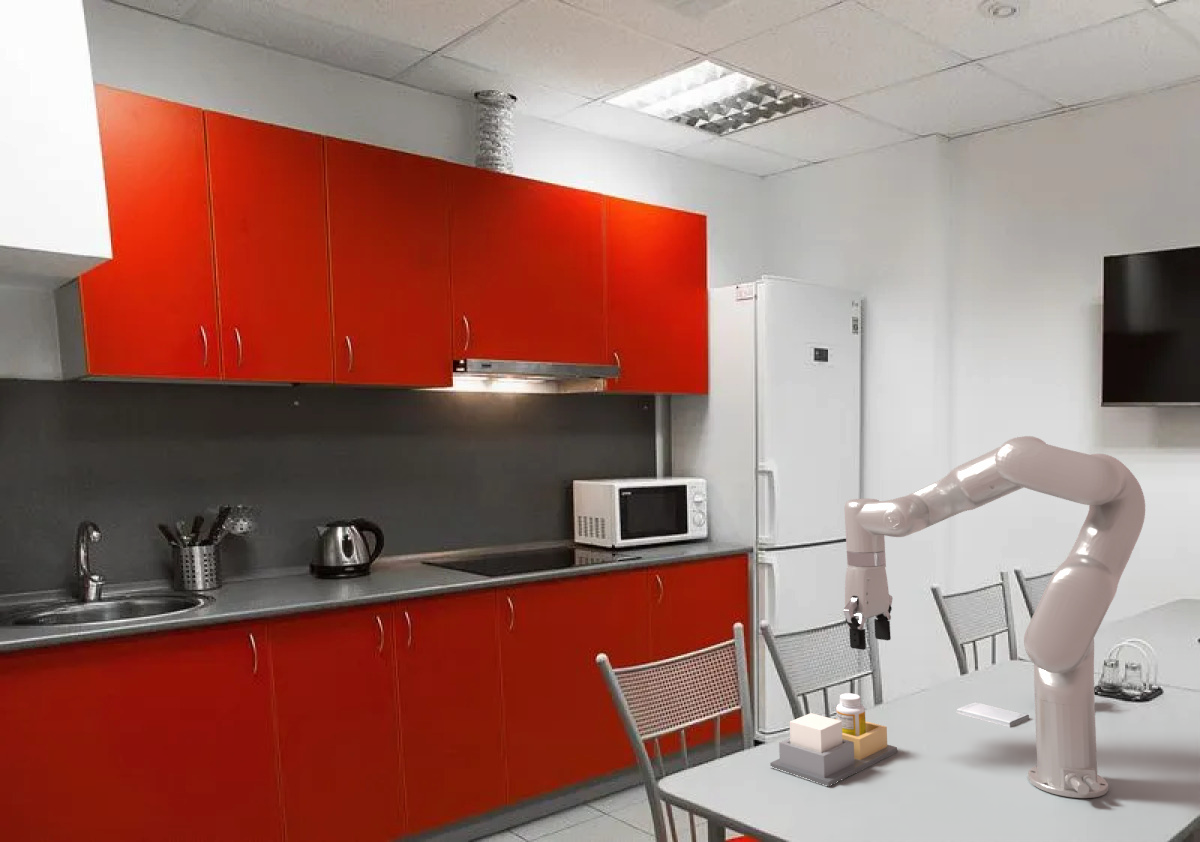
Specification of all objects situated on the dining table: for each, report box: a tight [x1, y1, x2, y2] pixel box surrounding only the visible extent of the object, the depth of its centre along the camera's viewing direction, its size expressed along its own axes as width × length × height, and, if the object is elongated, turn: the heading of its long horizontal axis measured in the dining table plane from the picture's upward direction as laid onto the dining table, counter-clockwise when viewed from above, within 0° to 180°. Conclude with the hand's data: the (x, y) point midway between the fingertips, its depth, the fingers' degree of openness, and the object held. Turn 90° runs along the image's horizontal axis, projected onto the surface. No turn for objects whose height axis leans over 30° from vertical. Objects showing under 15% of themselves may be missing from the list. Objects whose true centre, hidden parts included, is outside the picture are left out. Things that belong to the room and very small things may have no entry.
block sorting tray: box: [770, 712, 898, 787], centre depth 169 cm, size 24×13×9 cm, turn 132°
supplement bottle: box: [835, 692, 866, 737], centre depth 173 cm, size 6×6×10 cm
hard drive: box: [956, 701, 1030, 728], centre depth 192 cm, size 2×8×12 cm
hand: (870, 643), depth 175 cm, fingers open, 9 cm apart
